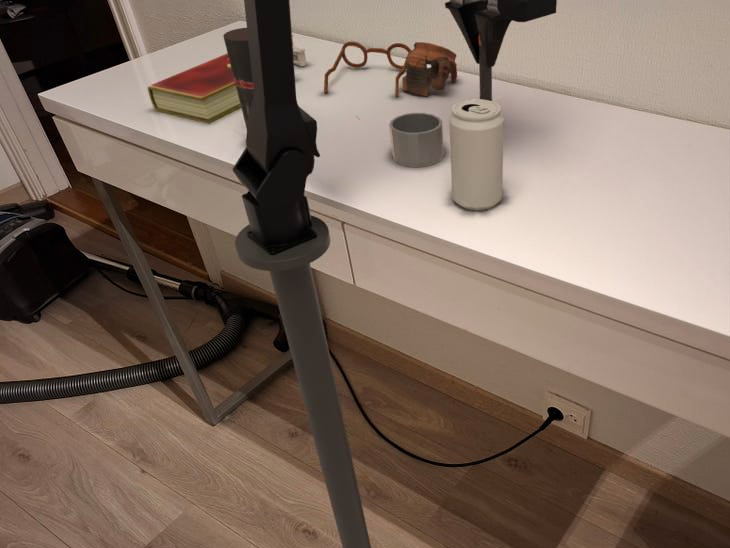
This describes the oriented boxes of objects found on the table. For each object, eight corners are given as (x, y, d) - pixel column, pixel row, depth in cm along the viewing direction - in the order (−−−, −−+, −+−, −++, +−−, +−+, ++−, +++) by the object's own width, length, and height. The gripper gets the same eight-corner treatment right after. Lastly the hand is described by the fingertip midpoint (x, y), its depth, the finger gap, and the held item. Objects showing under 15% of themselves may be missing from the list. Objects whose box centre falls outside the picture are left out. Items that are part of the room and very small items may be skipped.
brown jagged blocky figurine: (389, 89, 117) (400, 39, 115) (436, 104, 122) (447, 57, 120) (420, 91, 107) (432, 37, 105) (469, 108, 113) (482, 56, 111)
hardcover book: (154, 110, 110) (145, 83, 107) (243, 70, 123) (237, 46, 121) (208, 123, 105) (200, 96, 103) (295, 80, 119) (290, 55, 116)
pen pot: (413, 172, 92) (411, 138, 89) (383, 155, 96) (379, 122, 93) (453, 156, 96) (452, 123, 92) (422, 140, 100) (420, 108, 96)
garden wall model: (308, 65, 125) (302, 31, 121) (300, 68, 124) (294, 33, 120) (269, 52, 131) (262, 19, 127) (261, 55, 130) (254, 22, 126)
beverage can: (474, 184, 89) (472, 93, 81) (512, 198, 86) (514, 105, 78) (442, 202, 86) (437, 109, 78) (481, 218, 82) (480, 123, 74)
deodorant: (271, 153, 97) (245, 43, 87) (241, 144, 99) (213, 36, 89) (299, 138, 101) (278, 31, 91) (270, 130, 103) (246, 25, 93)
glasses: (414, 71, 122) (412, 41, 119) (397, 97, 112) (395, 66, 109) (345, 68, 124) (341, 39, 120) (322, 94, 114) (317, 63, 111)
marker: (485, 111, 89) (484, 38, 83) (477, 107, 90) (475, 35, 84) (494, 107, 90) (494, 35, 84) (486, 104, 90) (485, 32, 84)
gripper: (594, -79, 74) (582, 67, 85) (481, -97, 85) (482, 35, 95) (523, -64, 69) (519, 90, 79) (411, -86, 79) (421, 53, 90)
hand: (485, 64), depth 86 cm, fingers closed on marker, 2 cm apart
